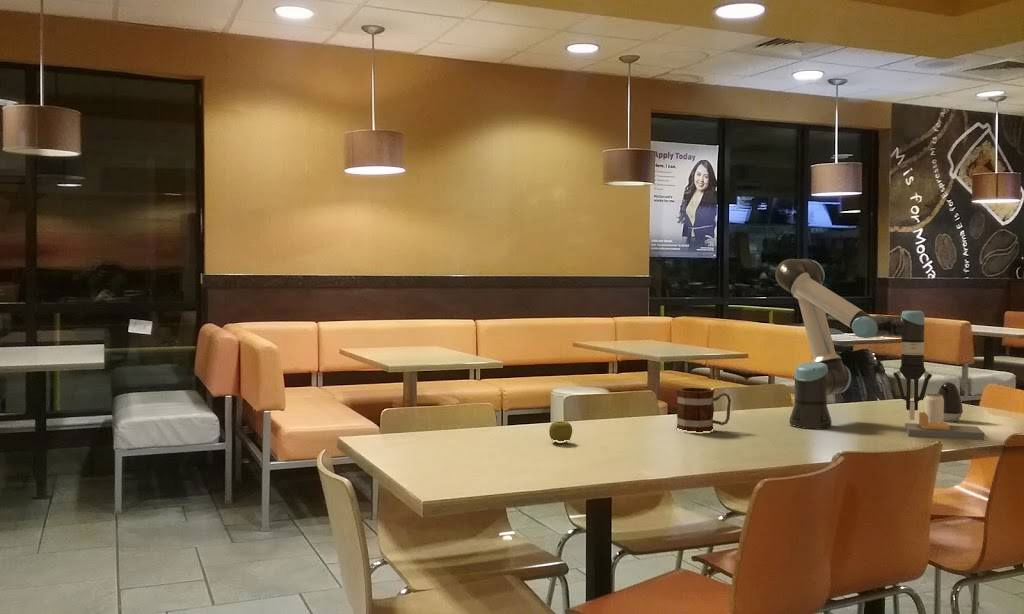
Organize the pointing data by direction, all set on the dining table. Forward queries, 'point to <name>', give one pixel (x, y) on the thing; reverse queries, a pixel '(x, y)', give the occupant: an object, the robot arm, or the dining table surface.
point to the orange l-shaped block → (931, 423)
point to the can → (934, 408)
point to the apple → (560, 431)
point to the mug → (698, 409)
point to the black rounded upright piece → (951, 402)
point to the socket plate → (945, 432)
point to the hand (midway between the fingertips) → (911, 419)
